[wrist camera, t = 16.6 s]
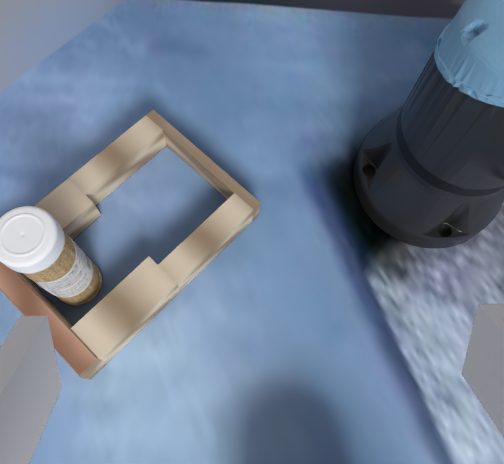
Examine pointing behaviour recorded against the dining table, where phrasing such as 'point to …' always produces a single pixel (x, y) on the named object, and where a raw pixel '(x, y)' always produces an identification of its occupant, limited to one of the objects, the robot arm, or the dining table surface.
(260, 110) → the dining table surface
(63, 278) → the sprinkles bottle
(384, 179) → the robot arm
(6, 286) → the light wood rectangular frame
